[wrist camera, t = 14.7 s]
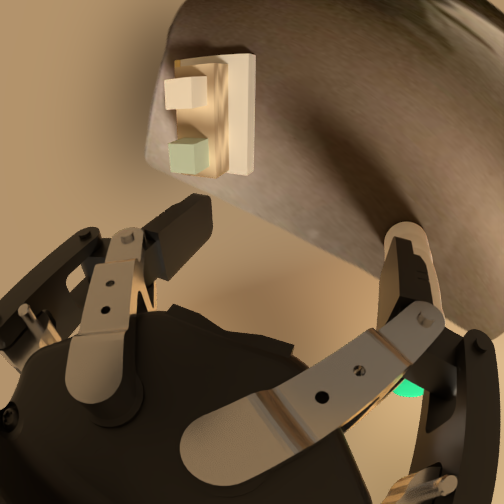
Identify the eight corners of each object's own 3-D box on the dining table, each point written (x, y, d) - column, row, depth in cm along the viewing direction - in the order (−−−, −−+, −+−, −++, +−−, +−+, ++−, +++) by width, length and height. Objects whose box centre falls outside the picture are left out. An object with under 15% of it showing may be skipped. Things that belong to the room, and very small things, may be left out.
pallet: (191, 67, 32) (174, 67, 29) (228, 64, 30) (213, 62, 27) (195, 166, 42) (180, 174, 39) (229, 169, 40) (216, 178, 37)
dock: (184, 60, 34) (174, 60, 32) (255, 55, 31) (248, 53, 29) (188, 162, 45) (179, 167, 43) (253, 170, 41) (246, 175, 39)
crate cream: (181, 78, 30) (164, 80, 27) (206, 76, 29) (191, 76, 26) (181, 106, 32) (165, 109, 30) (207, 105, 31) (192, 108, 28)
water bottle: (434, 242, 35) (461, 388, 16) (402, 267, 40) (400, 411, 21) (408, 210, 35) (430, 354, 16) (374, 238, 39) (360, 384, 20)
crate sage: (183, 137, 35) (168, 143, 32) (208, 138, 34) (193, 144, 31) (185, 164, 37) (170, 172, 35) (209, 166, 36) (195, 174, 33)
